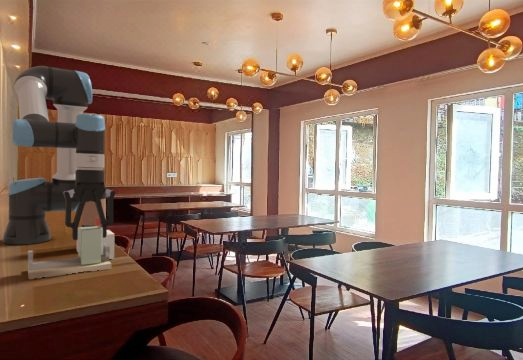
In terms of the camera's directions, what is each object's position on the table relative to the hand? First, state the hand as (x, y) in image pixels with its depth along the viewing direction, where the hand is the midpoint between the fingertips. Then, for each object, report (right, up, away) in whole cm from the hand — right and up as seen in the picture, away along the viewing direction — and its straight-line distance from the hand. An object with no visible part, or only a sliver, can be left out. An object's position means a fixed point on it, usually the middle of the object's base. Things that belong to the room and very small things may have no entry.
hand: (89, 249), depth 106 cm
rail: (-4, -5, -2) cm, 7 cm away
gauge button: (-2, +3, +11) cm, 11 cm away
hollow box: (-2, -5, +11) cm, 12 cm away
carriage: (0, -3, 0) cm, 3 cm away
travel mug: (-9, -4, +23) cm, 25 cm away
